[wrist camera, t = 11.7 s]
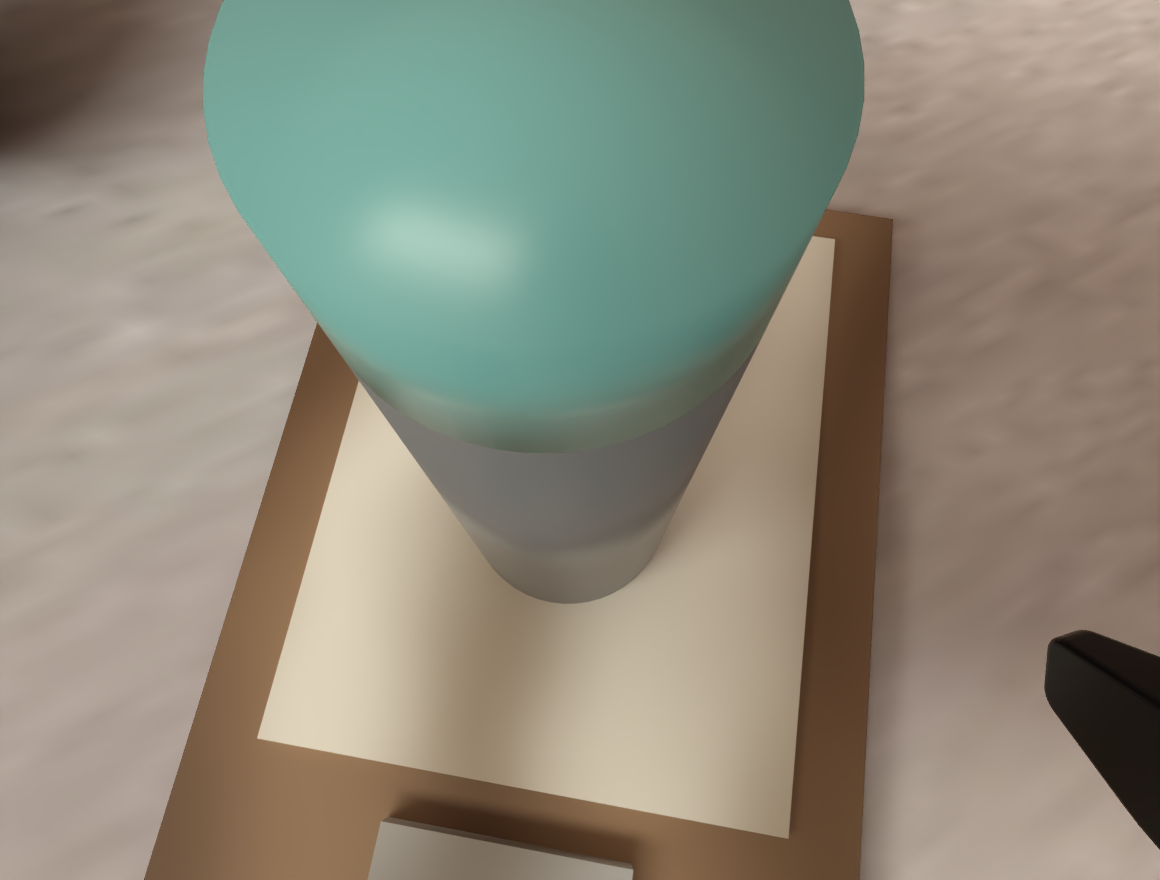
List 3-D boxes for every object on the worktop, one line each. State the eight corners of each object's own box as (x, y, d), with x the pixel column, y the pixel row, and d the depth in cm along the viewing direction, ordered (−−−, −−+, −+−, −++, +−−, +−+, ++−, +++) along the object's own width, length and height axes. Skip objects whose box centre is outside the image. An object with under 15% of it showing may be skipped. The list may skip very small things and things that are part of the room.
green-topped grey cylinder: (704, 494, 18) (990, 20, 5) (580, 646, 17) (568, 502, 4) (559, 379, 18) (509, -257, 6) (431, 516, 17) (64, 83, 5)
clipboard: (881, 236, 21) (901, 205, 20) (838, 1010, 15) (863, 1040, 14) (380, 163, 22) (367, 128, 20) (163, 875, 16) (125, 891, 15)
